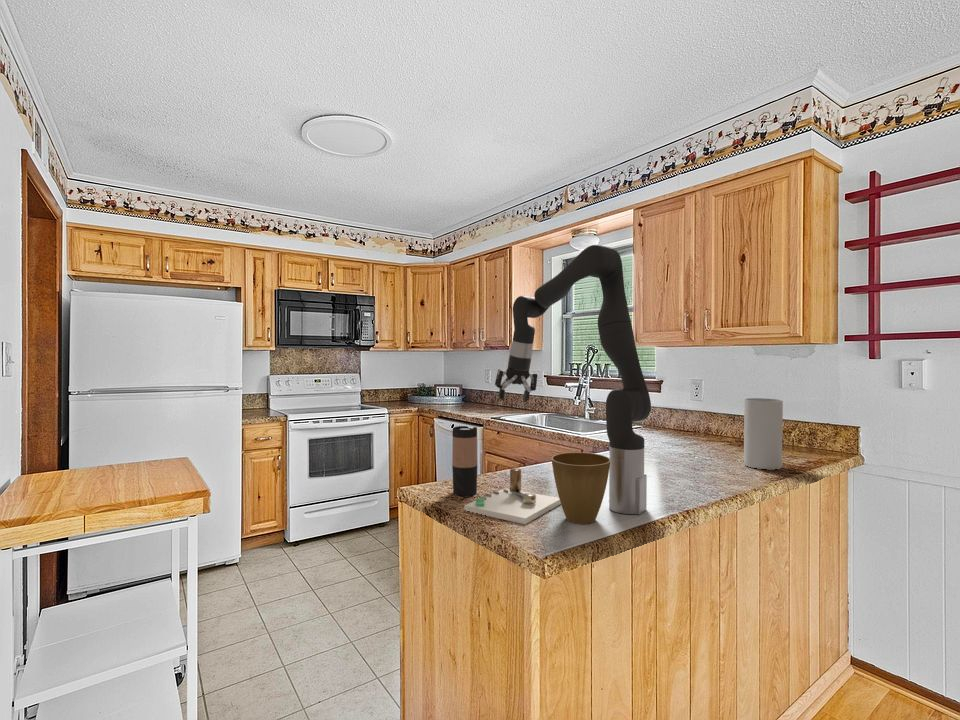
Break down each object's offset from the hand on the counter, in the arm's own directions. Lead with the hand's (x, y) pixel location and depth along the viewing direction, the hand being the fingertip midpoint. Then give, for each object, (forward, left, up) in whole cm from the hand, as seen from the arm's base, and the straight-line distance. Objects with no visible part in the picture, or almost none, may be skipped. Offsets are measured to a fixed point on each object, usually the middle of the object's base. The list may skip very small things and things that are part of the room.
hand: (513, 400), depth 178 cm
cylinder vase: (-70, -64, -26) cm, 98 cm away
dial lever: (-19, +27, -24) cm, 41 cm away
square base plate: (-18, +30, -26) cm, 44 cm away
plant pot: (-38, +30, -26) cm, 55 cm away
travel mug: (+1, +27, -26) cm, 38 cm away
